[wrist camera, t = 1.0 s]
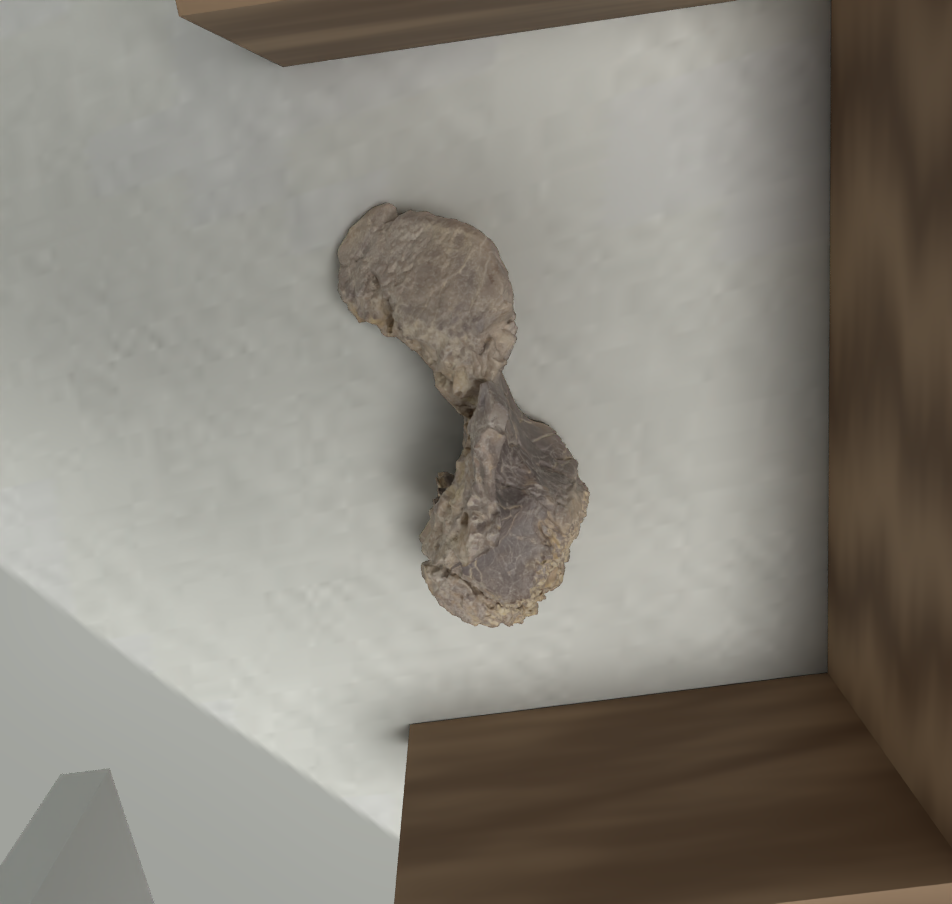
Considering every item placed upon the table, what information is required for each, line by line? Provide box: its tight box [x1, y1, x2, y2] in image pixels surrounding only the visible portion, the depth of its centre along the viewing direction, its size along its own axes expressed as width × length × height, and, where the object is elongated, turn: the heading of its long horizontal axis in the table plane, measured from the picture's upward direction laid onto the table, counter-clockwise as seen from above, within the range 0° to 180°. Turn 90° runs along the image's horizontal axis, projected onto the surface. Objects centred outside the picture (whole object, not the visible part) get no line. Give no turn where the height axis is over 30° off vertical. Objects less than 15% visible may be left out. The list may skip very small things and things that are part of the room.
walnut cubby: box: [175, 0, 952, 904], centre depth 25 cm, size 26×18×10 cm
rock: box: [337, 203, 590, 628], centre depth 26 cm, size 6×14×7 cm, turn 15°
